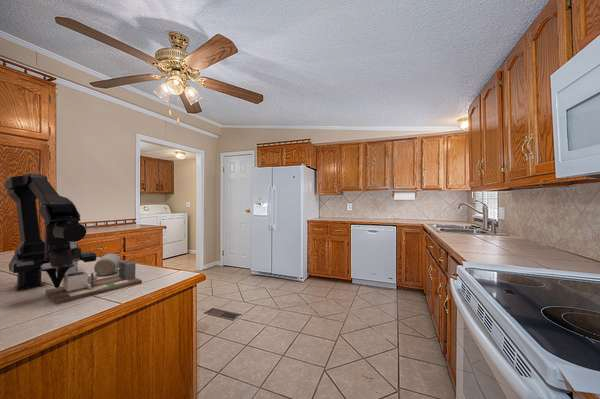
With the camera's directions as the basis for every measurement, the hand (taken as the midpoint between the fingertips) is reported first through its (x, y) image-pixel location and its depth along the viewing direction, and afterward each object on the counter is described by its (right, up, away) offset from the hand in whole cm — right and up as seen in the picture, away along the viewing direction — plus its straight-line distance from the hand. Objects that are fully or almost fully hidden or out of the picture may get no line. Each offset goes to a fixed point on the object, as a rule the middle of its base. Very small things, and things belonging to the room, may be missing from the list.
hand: (56, 287), depth 78 cm
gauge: (+5, -1, +4) cm, 6 cm away
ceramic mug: (-1, -3, +24) cm, 24 cm away
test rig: (+7, -3, +7) cm, 10 cm away
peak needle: (+9, -1, +2) cm, 10 cm away
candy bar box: (-22, -3, +25) cm, 33 cm away
